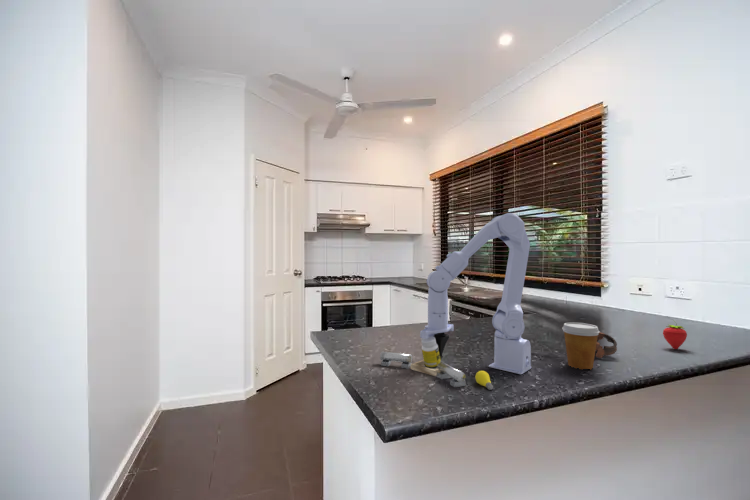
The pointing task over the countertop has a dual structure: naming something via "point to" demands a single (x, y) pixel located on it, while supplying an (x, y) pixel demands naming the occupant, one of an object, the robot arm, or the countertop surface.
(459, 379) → the shaft
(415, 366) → the coupling seat
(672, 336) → the strawberry
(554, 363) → the countertop surface
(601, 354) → the pottery mug
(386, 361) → the grey bar handle
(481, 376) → the light bulb
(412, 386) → the countertop surface
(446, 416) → the countertop surface
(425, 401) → the countertop surface
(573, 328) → the disposable coffee cup
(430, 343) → the supplement bottle
